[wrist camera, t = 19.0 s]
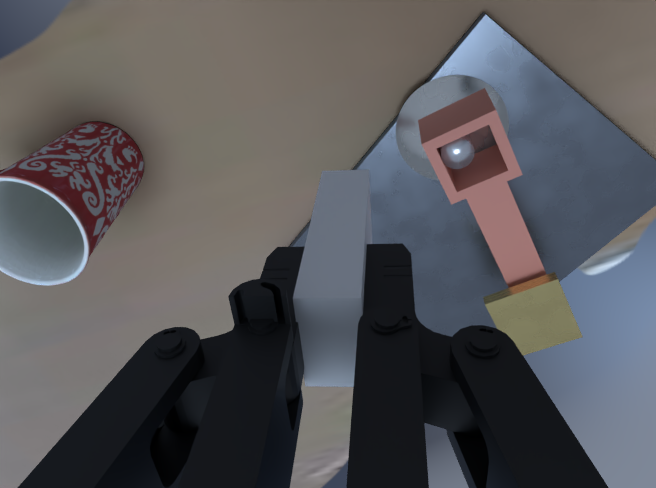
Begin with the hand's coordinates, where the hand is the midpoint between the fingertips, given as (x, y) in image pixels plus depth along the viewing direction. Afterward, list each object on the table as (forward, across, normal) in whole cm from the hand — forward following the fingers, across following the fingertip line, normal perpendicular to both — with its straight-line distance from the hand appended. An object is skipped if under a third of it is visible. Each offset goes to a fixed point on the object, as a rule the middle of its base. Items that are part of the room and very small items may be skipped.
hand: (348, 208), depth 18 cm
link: (+27, +10, -14) cm, 32 cm away
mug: (+29, -26, -9) cm, 40 cm away
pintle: (+27, +6, -8) cm, 29 cm away
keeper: (+28, +13, -22) cm, 38 cm away
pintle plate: (+28, +8, -17) cm, 34 cm away
